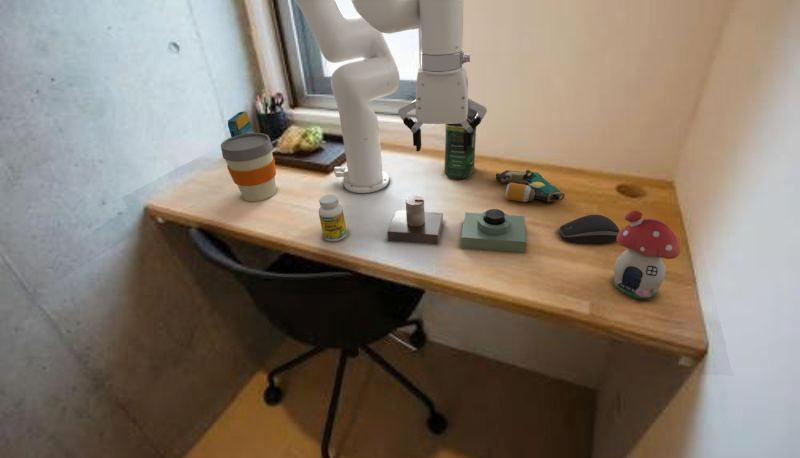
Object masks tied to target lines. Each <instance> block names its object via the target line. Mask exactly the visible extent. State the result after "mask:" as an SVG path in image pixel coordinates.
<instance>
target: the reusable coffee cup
mask: <svg viewBox="0 0 800 458" xmlns="http://www.w3.org/2000/svg"><path fill="white" fill-rule="evenodd" d="M220 147H221V148H220V149H221V154H222V158H223V159H224V160H225V161H226V163H227V166H226V167H227V170H228V172H229V175H230V177H231V178H232V181H233V183H234V184H235V185H237V188H238V190H239V193H240V194H241V196H242V198H243V199H244V200H245V201H248V202H259V201H260V202H261V201H264V200H267V199H270V198H272V197H273V196H275V194H276V193H277V184H276V175H277V170H276V160H275V156H274V155H273V150H274V145H273V143H272V141H271V137H270V136H269V135H268V134H266V133H262V132H254V133H247V134H241V135H237V136H234V137H231V136H230V137H228V138H227V139H225V140H224V141H222V143H221V144H220Z"/></svg>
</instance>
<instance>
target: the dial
mask: <svg viewBox="0 0 800 458" xmlns="http://www.w3.org/2000/svg"><path fill="white" fill-rule="evenodd" d="M405 211H406V216H407V224H408V225H410V226H415V227H416V226H421V225H423V224H424V222H425V212H426V211H425V199H424V198H423V196H420V195H411V196H408V197H407V198H406V199H405Z"/></svg>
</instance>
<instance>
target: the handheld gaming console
mask: <svg viewBox="0 0 800 458" xmlns="http://www.w3.org/2000/svg"><path fill="white" fill-rule="evenodd" d="M227 128H228V131H229V135H230V138H231V137H234V136H237V135H241V134H247V133H255V131H254V128H253V125H252V122H251V121H250V117H249V115H248V112H247V111H239V112H237V113H236V114H234V115H233V116H232V117H230V118H229V119H228V120H227Z"/></svg>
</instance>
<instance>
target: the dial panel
mask: <svg viewBox="0 0 800 458" xmlns="http://www.w3.org/2000/svg"><path fill="white" fill-rule="evenodd" d="M424 212H425V222H424V224H423V225H421V226H416V227H415V226H410V225H408V224H407V216H406V210H398V209H396V210H395V212H394V215H393V217H392V219H391V221H390V224H389V226H388V229H387V230H386V231H387V232H386V233H387V234H386V235H387V241H388V242H400V243H401V242H402V243H415V244H416V243H417V244H428V245H439V240H440V236H441V231H442V227H443V223H444V213H443V212H433V211H432V212H431V211H424Z"/></svg>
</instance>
